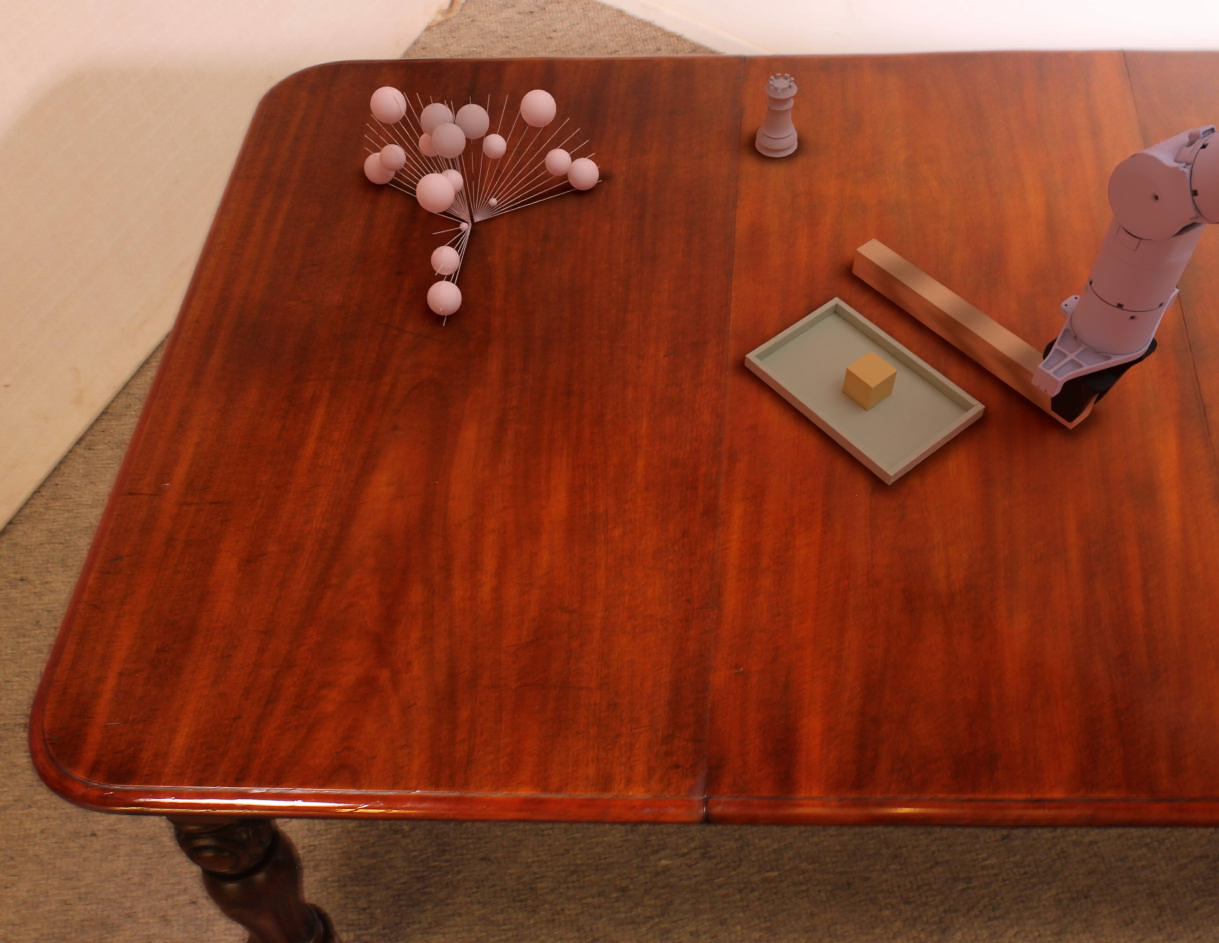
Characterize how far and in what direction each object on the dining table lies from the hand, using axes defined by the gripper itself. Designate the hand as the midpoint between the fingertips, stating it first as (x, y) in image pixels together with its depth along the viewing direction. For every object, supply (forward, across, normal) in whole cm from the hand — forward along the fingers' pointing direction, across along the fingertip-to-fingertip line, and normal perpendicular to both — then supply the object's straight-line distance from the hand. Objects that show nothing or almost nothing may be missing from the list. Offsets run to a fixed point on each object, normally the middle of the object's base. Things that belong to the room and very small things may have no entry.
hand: (1074, 405), depth 89 cm
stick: (+2, 0, -12) cm, 12 cm away
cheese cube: (+1, +11, -13) cm, 17 cm away
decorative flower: (+2, +27, -52) cm, 58 cm away
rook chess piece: (+2, -7, -43) cm, 43 cm away
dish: (+2, +11, -13) cm, 17 cm away
